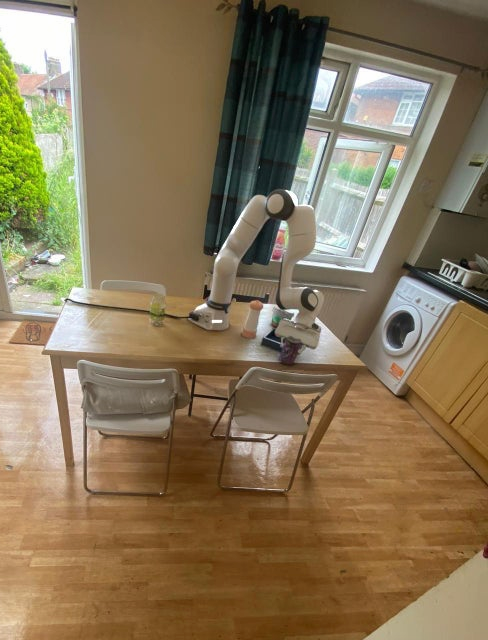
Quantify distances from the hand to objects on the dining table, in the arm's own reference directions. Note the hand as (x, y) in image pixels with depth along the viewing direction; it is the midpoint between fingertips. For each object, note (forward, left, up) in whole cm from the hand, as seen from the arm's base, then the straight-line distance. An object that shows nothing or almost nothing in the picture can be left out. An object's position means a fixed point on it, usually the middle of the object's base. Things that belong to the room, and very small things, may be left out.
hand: (289, 350), depth 154 cm
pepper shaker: (-25, +13, -7) cm, 29 cm away
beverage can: (0, +1, -7) cm, 7 cm away
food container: (-16, +34, -7) cm, 38 cm away
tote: (-7, +15, -6) cm, 18 cm away
